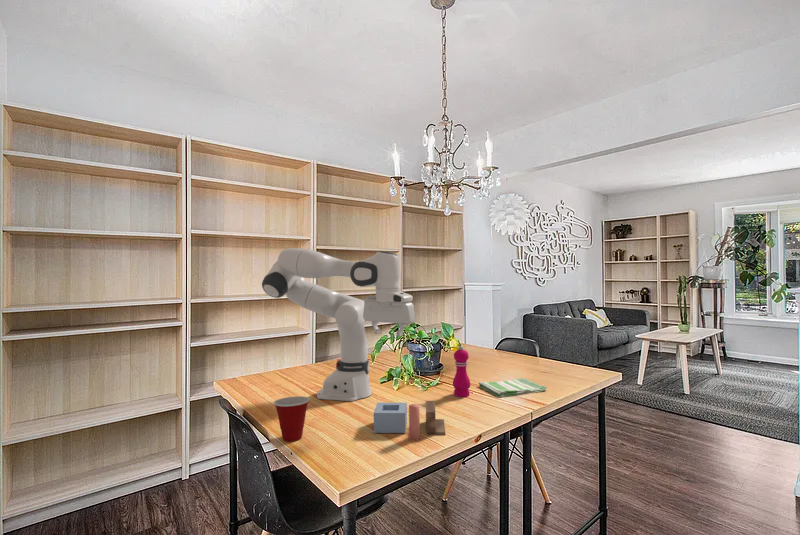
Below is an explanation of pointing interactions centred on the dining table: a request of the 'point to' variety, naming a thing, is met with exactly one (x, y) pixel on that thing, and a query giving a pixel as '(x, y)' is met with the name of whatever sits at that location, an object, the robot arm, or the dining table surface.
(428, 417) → the brown l-shaped block
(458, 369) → the pepper mill
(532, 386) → the dish towel
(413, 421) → the dowel
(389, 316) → the robot arm
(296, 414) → the plastic cup
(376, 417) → the blue-grey slotted block
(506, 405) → the dining table surface
